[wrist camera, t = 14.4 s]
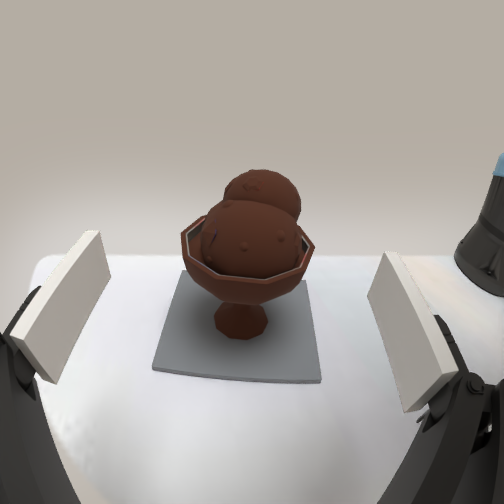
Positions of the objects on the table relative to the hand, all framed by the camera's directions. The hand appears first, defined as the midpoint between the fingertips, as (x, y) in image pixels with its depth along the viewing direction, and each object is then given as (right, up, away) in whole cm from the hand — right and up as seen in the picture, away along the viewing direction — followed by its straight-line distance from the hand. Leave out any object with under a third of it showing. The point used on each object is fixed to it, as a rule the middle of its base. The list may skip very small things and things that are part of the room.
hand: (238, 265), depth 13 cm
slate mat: (-1, -7, +16) cm, 18 cm away
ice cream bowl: (-1, -6, +16) cm, 17 cm away
